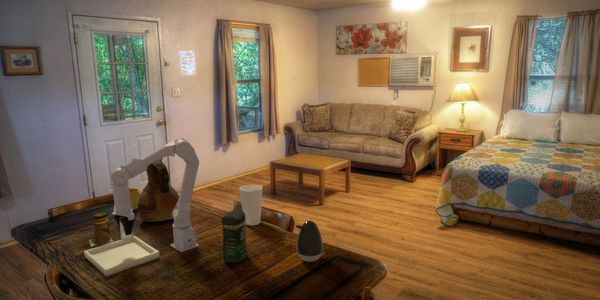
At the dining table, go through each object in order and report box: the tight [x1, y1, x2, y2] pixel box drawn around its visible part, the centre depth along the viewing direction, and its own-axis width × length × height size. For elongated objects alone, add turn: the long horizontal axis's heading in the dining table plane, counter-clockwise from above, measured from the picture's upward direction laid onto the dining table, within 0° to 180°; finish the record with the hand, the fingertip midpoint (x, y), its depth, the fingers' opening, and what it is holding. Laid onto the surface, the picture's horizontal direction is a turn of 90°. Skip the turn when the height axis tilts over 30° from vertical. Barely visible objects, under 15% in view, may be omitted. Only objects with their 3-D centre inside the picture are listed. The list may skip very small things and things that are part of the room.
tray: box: [83, 235, 160, 277], centre depth 162 cm, size 22×20×2 cm
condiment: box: [88, 212, 114, 247], centre depth 176 cm, size 7×8×12 cm
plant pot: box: [129, 187, 141, 211], centre depth 216 cm, size 10×10×10 cm
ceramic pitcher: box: [137, 158, 180, 223], centre depth 198 cm, size 20×20×30 cm
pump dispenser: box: [295, 220, 324, 263], centre depth 156 cm, size 10×10×15 cm
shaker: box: [119, 216, 135, 242], centre depth 162 cm, size 5×5×9 cm
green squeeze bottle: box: [221, 209, 248, 264], centre depth 158 cm, size 10×8×19 cm
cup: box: [238, 183, 264, 226], centre depth 193 cm, size 11×10×17 cm
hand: (125, 232), depth 162 cm, fingers closed on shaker, 5 cm apart
